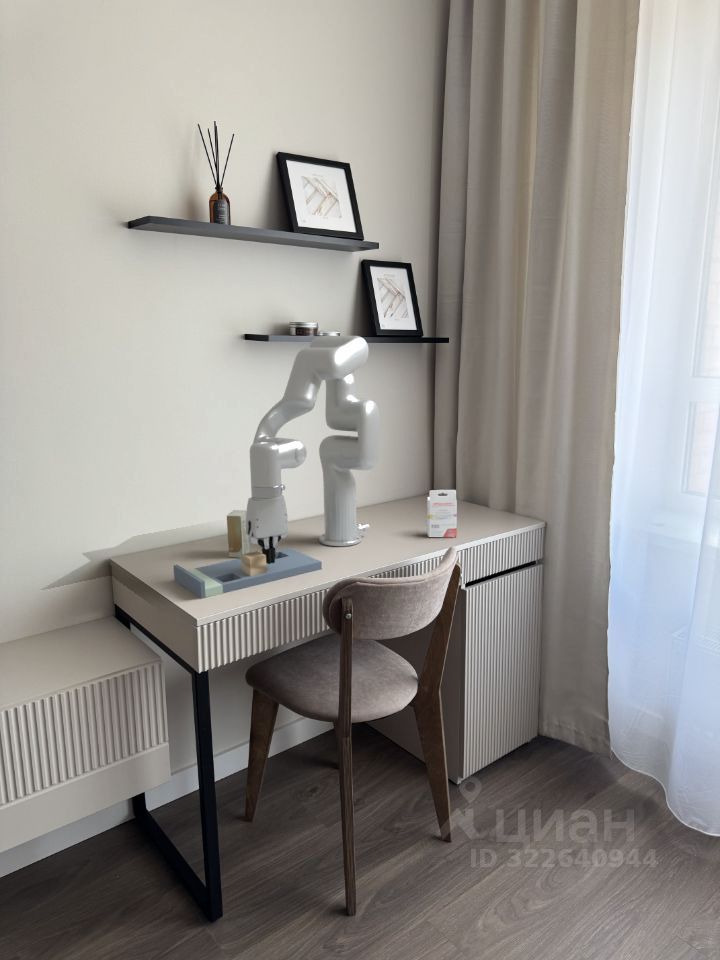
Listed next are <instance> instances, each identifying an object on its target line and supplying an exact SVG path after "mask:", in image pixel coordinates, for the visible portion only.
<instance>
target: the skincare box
mask: <svg viewBox="0 0 720 960" xmlns="http://www.w3.org/2000/svg"><path fill="white" fill-rule="evenodd" d="M246 511H247V509H246V510H245V509H244V510H243V509H239V510H237V509H233V510H232V511H231V512H229V513H228V514H227V515H226V527H227V529H226V530H227V543H228V546H227V548H228V558H236V559H240V558H241V554H246V553H250V552H251V547H250V544H251V543H250V542H249V541H248V540H249V535H247V534H246Z"/></svg>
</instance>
